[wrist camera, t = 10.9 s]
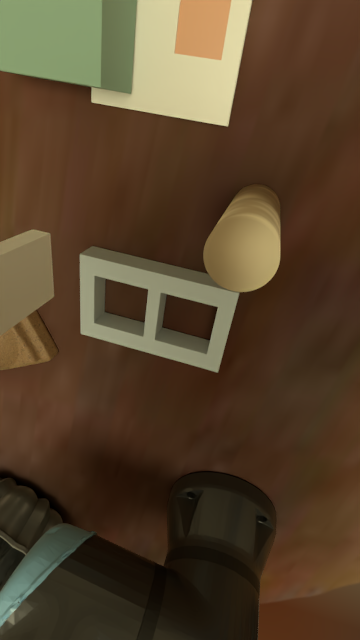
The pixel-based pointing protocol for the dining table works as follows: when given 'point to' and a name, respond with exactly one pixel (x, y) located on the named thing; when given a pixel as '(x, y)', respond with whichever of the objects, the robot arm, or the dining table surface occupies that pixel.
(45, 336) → the candle holder
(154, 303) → the grey double window frame
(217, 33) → the mat
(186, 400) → the dining table surface
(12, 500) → the bundt pan
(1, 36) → the cover
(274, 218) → the peg
